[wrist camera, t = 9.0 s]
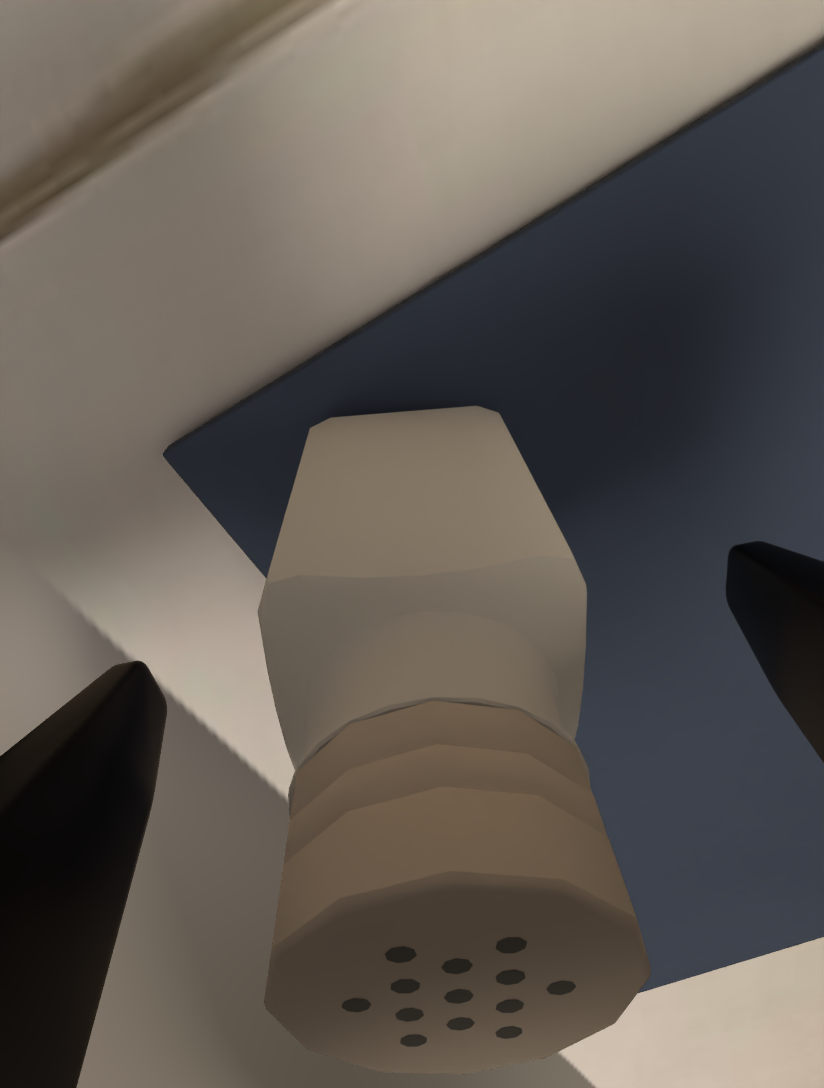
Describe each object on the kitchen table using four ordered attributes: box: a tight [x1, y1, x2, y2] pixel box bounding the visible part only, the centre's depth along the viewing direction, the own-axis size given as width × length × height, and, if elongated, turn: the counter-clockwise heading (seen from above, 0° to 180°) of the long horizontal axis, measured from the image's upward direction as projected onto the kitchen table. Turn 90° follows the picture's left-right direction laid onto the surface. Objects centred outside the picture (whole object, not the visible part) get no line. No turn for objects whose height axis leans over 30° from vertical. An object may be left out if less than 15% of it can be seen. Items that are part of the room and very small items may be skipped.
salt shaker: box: [258, 406, 651, 1074], centre depth 9 cm, size 4×4×10 cm
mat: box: [163, 43, 824, 993], centre depth 17 cm, size 28×18×1 cm, turn 30°
